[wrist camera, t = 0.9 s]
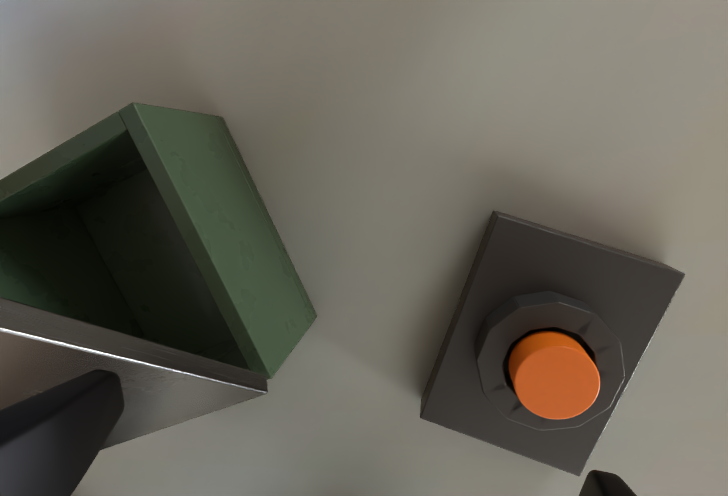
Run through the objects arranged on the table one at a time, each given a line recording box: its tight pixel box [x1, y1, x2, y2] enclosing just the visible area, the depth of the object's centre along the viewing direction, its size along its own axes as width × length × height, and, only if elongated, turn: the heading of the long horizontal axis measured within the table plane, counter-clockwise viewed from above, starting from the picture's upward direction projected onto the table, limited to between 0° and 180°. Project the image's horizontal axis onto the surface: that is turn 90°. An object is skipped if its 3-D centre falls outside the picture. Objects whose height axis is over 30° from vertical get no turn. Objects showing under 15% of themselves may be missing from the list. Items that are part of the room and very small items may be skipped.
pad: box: [420, 211, 685, 476], centre depth 22 cm, size 12×9×4 cm
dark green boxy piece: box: [0, 103, 317, 380], centre depth 23 cm, size 13×12×7 cm
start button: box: [509, 331, 600, 419], centre depth 20 cm, size 4×4×2 cm
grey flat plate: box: [0, 297, 268, 450], centre depth 14 cm, size 13×12×1 cm
